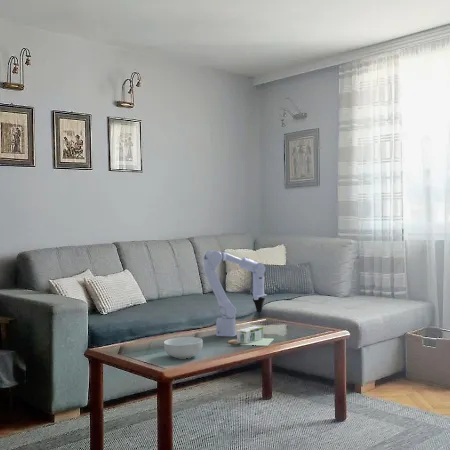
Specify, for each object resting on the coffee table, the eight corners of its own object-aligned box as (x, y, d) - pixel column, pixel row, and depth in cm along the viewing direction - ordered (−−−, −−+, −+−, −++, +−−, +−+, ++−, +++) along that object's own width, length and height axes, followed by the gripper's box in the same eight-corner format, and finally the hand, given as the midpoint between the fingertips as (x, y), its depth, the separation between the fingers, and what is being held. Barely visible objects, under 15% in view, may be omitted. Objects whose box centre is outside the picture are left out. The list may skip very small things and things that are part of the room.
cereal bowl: (175, 351, 260) (175, 335, 260) (209, 354, 254) (208, 337, 254) (156, 360, 245) (156, 343, 245) (192, 363, 238) (191, 345, 238)
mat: (240, 345, 270) (240, 344, 270) (247, 338, 286) (247, 337, 286) (267, 346, 267) (267, 345, 267) (273, 339, 282) (273, 338, 282)
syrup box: (263, 338, 282) (246, 343, 271) (253, 337, 286) (236, 342, 274) (263, 327, 282) (246, 331, 271) (253, 325, 286) (236, 330, 274)
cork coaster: (225, 343, 275) (225, 342, 275) (230, 340, 282) (230, 339, 282) (242, 344, 272) (242, 343, 272) (246, 340, 280) (246, 339, 280)
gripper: (263, 287, 293) (263, 314, 293) (268, 284, 307) (269, 310, 307) (249, 287, 295) (250, 314, 295) (255, 284, 308) (256, 309, 309)
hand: (259, 312), depth 301 cm, fingers closed
